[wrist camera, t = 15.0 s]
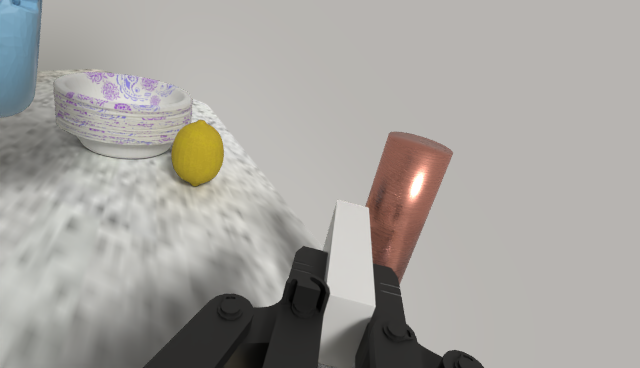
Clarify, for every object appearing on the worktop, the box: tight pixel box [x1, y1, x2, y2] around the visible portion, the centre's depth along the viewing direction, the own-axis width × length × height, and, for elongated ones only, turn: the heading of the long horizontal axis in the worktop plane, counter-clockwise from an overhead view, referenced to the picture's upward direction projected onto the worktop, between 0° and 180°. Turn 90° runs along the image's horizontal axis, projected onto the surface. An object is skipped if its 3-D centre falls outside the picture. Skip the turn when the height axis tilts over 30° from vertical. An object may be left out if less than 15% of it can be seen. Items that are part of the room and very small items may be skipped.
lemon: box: [171, 120, 224, 186], centre depth 40 cm, size 6×6×8 cm
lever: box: [352, 132, 453, 368], centre depth 14 cm, size 20×4×11 cm, turn 176°
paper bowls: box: [54, 72, 193, 159], centre depth 46 cm, size 15×15×8 cm
